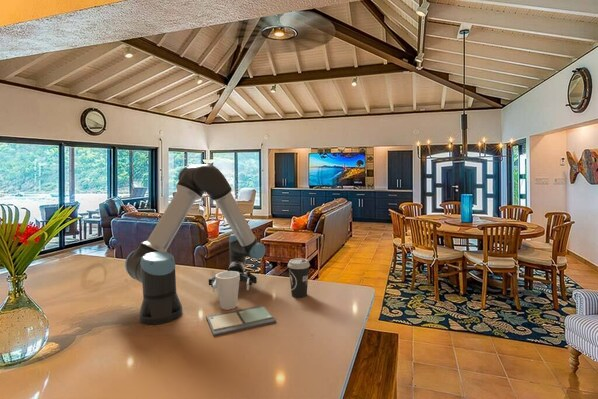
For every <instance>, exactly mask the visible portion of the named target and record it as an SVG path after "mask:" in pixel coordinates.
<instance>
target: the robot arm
mask: <svg viewBox="0 0 598 399" xmlns="http://www.w3.org/2000/svg"><path fill="white" fill-rule="evenodd" d="M177 179H178V180H177V181H178V182H177V183H176V185H175V188H176V192H175V194H174V196H173V197H172V199H171V201H170V202H169V204H168V205H167V207H166V208H165V211H164V212H163V214H162V215H161V217H160V218H159V220H158V222H157V224H156V225H155V227H154V229H153V230H152V231H151V234H150V235H149V237H148V238H147V240H144V241H141V242H140V244H139V245H138V248H136V249H135V250H133V251H131V252H130V253H129V254H128V255H127V257H126V258H125V263H124V267H125V271H126V273H127V274H128V275H129V276H130V278H132V279H133V280H136V281H138V282H139V283H141V284H142V285H141V286H142V295H143V296H142V303H141V306H140V309H139V313H138V316H139V321H140V322H141V323H143V324H144V325H145V324H146V325H161V324H164V323H165V324H166V323H169V322H172V321H175V320H177V319H178V318H180V317H181V316H182V314H183V305H182V303H181V300H180V299H179V296H178V294H177V292H178V291H177V276H176V262H175V257H174V255H173V254H171V253H169V252H167V250H168V248H169V247H170V245H171V244H172V241H173V239H175V236H176V235H177V233H178V231H179V229H180V227H181V226H182V225H183V222H184V220H186V217H187V216H188V214H189V212H190V211H191V209H192V207H193V205H194V204H195V202H196V201H199V200H200V199H202V197H203V195H204V193H206V194H207V195H208V196H209V198H210V200H211V201H214V202H215V203H216V205H217V207H218V208H219V210H220V212H221V214H222V215H223V217H224V218H225V221H226V222H227V224H228V225H229V228H230V229H231V231H232V232H233V233H231V234H230V235H229V237H228V238H229V239H228V246H229V247H228V248H229V266H228V268H227V271H236V272H239V274H240V280H239V282H244V283H246V291H249V290H250V287H251V286H253V284H257V282H258V281H257V277H256V276H255V275H254V274H253V273H251V272H250V271H247V272H246V273H245V270H246V268H247V267H246V266H247V260H246V257H247V258H251V259H252V260H253V259H254V260H261V259H262V258H263V257H264V256H265V254H266V246H265V245H264V244H263V243H261V242H259V241H258V240H257V238H256V236H255V234H254V233H253V230H252V229H251V227H250V225H249V223H248V221H247V219H246V217H245V216H244V214H243V212H242V210H241V208H240V207H239V204H238V203H237V201H236V199H235V197H234V195H233V194H232V190H233V189H232V187H231V185H230V183H229V181H228V179H227V178H226V176H225V175H224V173H222V172H221V170H220V169H219V168H217V167H216V166H215V165H212V164H210V163H209V164H208V163H205V164H203V163H201V164H199V163H192V164H191V163H190V164H187V165H185V166H184V167H182V168H181V169H180V171H179V173H178V175H177ZM208 286H211V288H212V292H213V293H215V292H216V289H217V283H216V279H215V275H214V276H212V277H210V278H209V279H208Z"/></svg>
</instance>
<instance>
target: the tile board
mask: <svg viewBox="0 0 598 399" xmlns="http://www.w3.org/2000/svg"><path fill="white" fill-rule="evenodd" d="M205 316H206V318H205V319H206V321H207V323H208V326H209V328H210V331H211V333H212V335H213V337H217V336H223V335H225V334H226V335H227V334H230V333H236V332H240V331H244V330H250V329H254V328H259V327H263V326H267V325H271V324H276V323H277V319H276V318H275V317H274V316H273V315H272V314H271V313H270V312H269V310H268V309H267V308H266V307H265V306H264V304H263V305H262V304H261V305H257V306H253V307H252V306H251V307H247V308H242V309H236V310H230V311H226V312H221V313H216V314H210V315H205Z"/></svg>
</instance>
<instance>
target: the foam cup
mask: <svg viewBox="0 0 598 399" xmlns="http://www.w3.org/2000/svg"><path fill="white" fill-rule="evenodd" d="M214 276H215V279H216V283H217V288H216V289H217V292H218V294H217V295H218V299H219V305H220V308H221V309H222V310H232V309H235V308H236V307H237V306H238V300H239V299H238V298H239V288H240V281H239V280H240V274H239V272H236V271H228V270H226V271H225V270H224V271H221V272H218V273H216V274H215V275H214Z"/></svg>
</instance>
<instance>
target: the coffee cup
mask: <svg viewBox="0 0 598 399" xmlns="http://www.w3.org/2000/svg"><path fill="white" fill-rule="evenodd" d="M310 267H311V264H310V262H309V260H308V259H306V258H302V257H301V258H297V257H296V258H292V259H290V260H289V262H288V263H287V268H288V274H289V282H290V291H291V292H290V293H291V296H292V297H293V298H296V299H297V298H298V299H301V298H305V297H307V295H308V282H309V271H310V270H309V268H310Z"/></svg>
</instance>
